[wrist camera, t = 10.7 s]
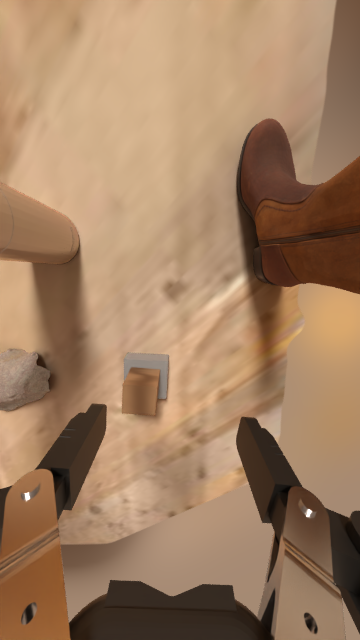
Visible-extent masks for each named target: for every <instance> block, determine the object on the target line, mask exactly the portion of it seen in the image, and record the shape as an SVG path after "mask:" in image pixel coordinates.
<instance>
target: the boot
mask: <svg viewBox="0 0 360 640" xmlns="http://www.w3.org/2000/svg"><path fill="white" fill-rule="evenodd" d="M237 188H238V195H239V199H240V202H241V204H242V206H243V207H244V209H245V210H246V211H247V213H248V214H249V215H250V216H251V218H252V219H253V220H254V222H255V224H256V230H257V236H258V240H259V247H257V248H254V255H253V266H254V272H255V275H256V277H257V278H258V279H259V280H261V281H263V282H266V283H269V284H272V285H279V286H283V287H292V286H295V285H298V284H306V283H316V284H321V285H326V286H332V287H335V288H340V289H343V290H346V291H350V292H353V293H357V294H360V156H359V157H358V158H357V159H356V160H354V161H353V162H352V163H351V164H349V165H348V166H347V167H345V168H344V169H343V170H342V171H341V172H339V173H338V174H337V175H335V176H334V177H333V178H331V179H330V180H329V181H327V182H325V183H322V184H319V185H306V184H301V183H299V182H298V181H297V180H296V175H295V169H294V164H293V159H292V152H291V148H290V144H289V142H288V139H287V136H286V133H285V131H284V129H283V127H282V126H281V125H280V123H279V122H277V121H276V120H274V119H265V120H263V121H261V122H260V123H258V124H257V125H255V126H254V127H253V128H252V129H251V131H250V132H249V133H248V135H247V137H246V139H245V141H244V144H243V147H242V151H241V155H240V161H239V168H238V181H237Z"/></svg>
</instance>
